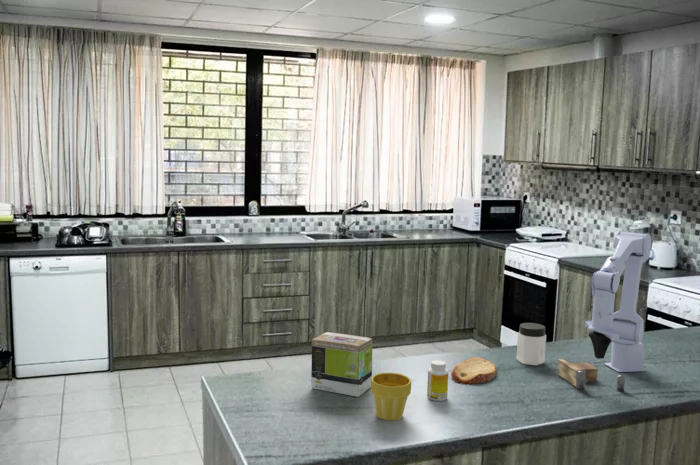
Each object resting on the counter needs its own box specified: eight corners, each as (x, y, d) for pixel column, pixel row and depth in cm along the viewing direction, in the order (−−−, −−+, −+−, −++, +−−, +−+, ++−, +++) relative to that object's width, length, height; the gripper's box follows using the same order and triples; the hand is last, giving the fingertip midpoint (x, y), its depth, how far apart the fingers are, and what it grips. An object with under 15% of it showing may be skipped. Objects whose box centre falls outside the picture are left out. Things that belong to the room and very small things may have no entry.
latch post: (621, 388, 193) (622, 374, 192) (625, 391, 191) (626, 376, 190) (615, 389, 192) (616, 374, 192) (619, 391, 190) (620, 377, 190)
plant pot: (416, 421, 166) (417, 384, 165) (377, 425, 163) (378, 387, 162) (401, 406, 176) (402, 370, 175) (364, 409, 173) (365, 373, 172)
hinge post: (582, 387, 193) (583, 369, 192) (586, 390, 190) (587, 372, 190) (574, 388, 192) (575, 370, 192) (578, 391, 190) (580, 372, 189)
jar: (534, 367, 210) (536, 331, 209) (512, 361, 216) (514, 325, 214) (548, 361, 216) (550, 326, 215) (526, 355, 222) (528, 321, 221)
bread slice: (485, 363, 215) (485, 352, 214) (514, 382, 197) (514, 370, 197) (434, 367, 209) (435, 355, 209) (459, 387, 192) (460, 374, 192)
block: (586, 374, 205) (586, 362, 204) (596, 381, 199) (597, 368, 199) (568, 375, 204) (569, 363, 203) (578, 382, 198) (579, 369, 197)
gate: (580, 386, 193) (581, 370, 192) (575, 386, 193) (576, 371, 192) (561, 373, 204) (562, 358, 203) (556, 374, 203) (557, 359, 203)
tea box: (372, 386, 190) (373, 337, 188) (358, 398, 181) (359, 346, 179) (325, 378, 196) (326, 330, 194) (309, 389, 187) (310, 338, 185)
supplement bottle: (451, 400, 181) (452, 364, 180) (434, 403, 178) (435, 366, 177) (439, 393, 186) (441, 358, 185) (423, 396, 183) (424, 360, 182)
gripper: (577, 306, 197) (574, 350, 199) (604, 319, 183) (600, 366, 185) (598, 306, 198) (595, 349, 200) (627, 318, 184) (623, 365, 186)
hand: (599, 357), depth 192 cm, fingers closed
